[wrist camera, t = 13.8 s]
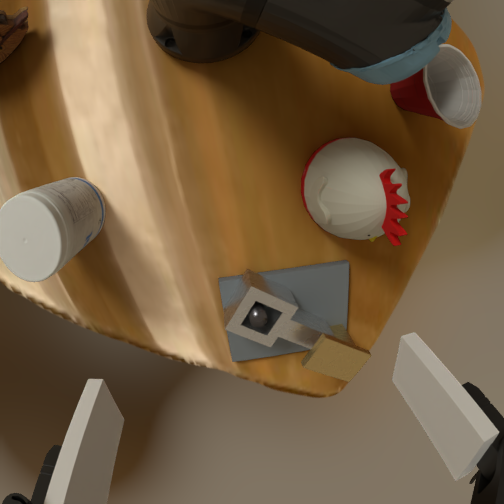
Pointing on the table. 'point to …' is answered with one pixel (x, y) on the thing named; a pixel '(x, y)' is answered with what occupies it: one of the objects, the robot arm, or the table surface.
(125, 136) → the table surface
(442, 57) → the plastic cup
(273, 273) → the board
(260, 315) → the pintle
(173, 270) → the table surface
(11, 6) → the table surface
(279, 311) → the link
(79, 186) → the supplement tub
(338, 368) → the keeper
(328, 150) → the kitchen timer
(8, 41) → the wooden carving
